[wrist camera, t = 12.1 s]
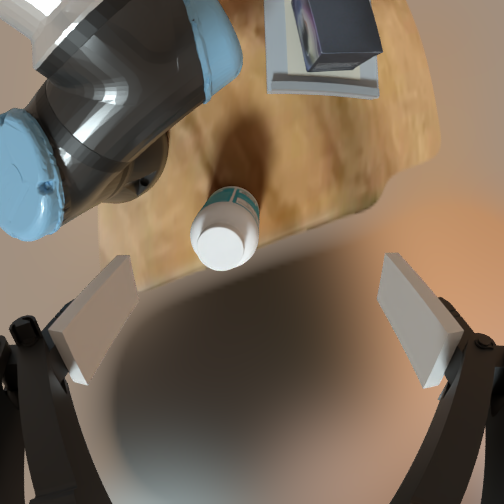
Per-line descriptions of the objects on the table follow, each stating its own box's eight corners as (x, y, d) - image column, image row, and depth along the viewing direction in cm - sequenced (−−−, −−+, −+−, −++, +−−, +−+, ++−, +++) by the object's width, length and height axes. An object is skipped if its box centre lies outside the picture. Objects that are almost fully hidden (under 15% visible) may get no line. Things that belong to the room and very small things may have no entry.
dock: (267, 93, 34) (267, 89, 30) (263, -8, 28) (263, -22, 24) (370, 99, 34) (383, 96, 29) (363, 0, 27) (372, -11, 23)
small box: (286, 1, 26) (294, -37, 17) (337, 0, 25) (359, -36, 16) (303, 74, 30) (319, 53, 21) (355, 70, 30) (387, 52, 20)
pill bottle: (203, 232, 42) (179, 276, 30) (209, 181, 39) (183, 207, 27) (255, 240, 42) (251, 288, 30) (264, 189, 39) (263, 218, 27)
